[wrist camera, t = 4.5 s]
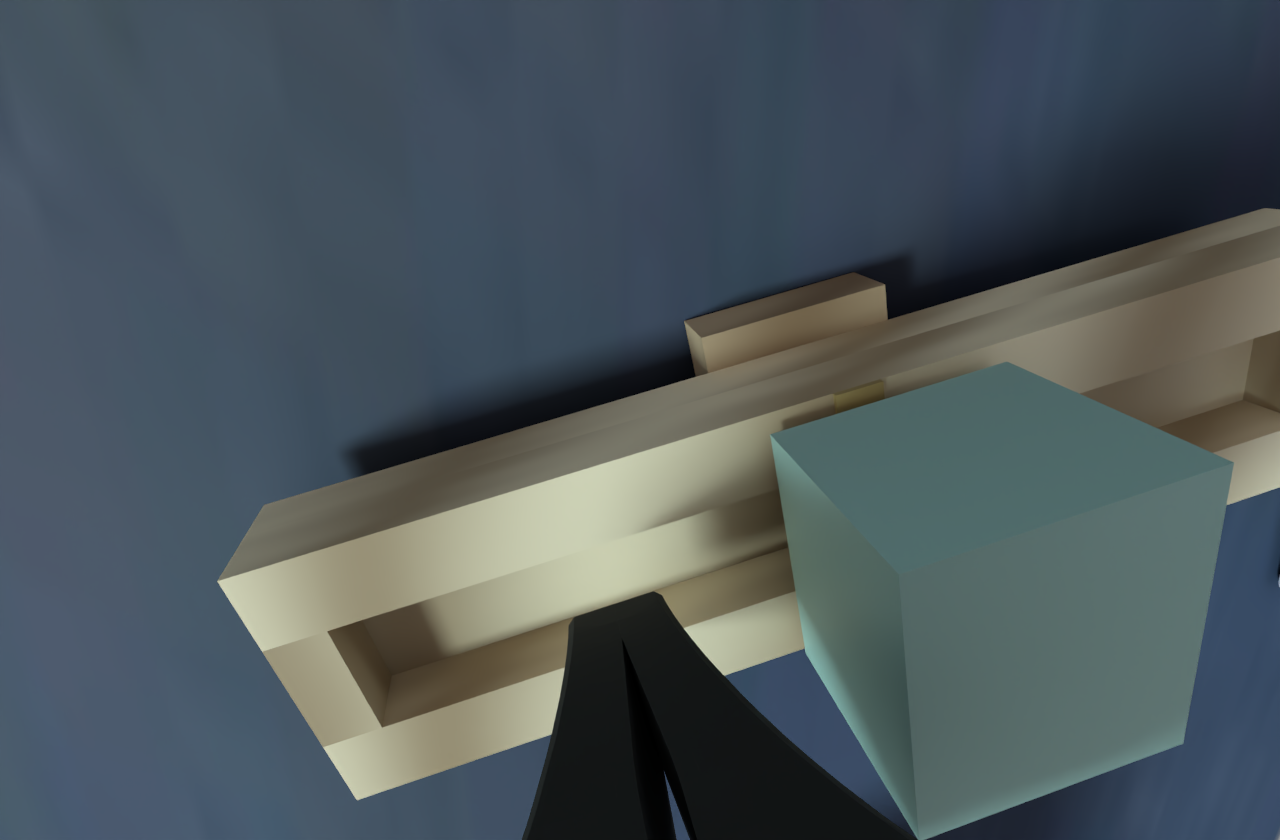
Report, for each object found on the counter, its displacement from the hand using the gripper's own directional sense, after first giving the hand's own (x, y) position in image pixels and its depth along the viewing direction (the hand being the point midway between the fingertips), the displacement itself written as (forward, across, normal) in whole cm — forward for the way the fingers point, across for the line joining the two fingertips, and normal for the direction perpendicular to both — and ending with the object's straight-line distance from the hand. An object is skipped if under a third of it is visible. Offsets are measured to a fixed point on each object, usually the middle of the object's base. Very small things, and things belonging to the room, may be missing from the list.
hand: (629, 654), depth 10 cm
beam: (+5, -5, 0) cm, 7 cm away
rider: (+2, -5, 0) cm, 5 cm away
